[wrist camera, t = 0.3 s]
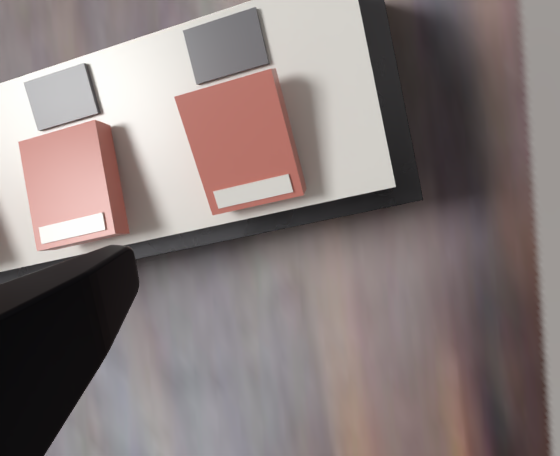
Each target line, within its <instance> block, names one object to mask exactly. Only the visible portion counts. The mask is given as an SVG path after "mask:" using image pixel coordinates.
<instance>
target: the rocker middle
mask: <svg viewBox="0 0 560 456" xmlns="http://www.w3.org/2000/svg"><path fill="white" fill-rule="evenodd" d="M18 143H19V149H20V155H21V161H22V167H23V173H24V179H25V185H26V191H27V196H28V202H29V208H30V214H31V220H32V226H33V232H34V238H35V244H36V249H37V251H47V250H57V249H62V248H66V247H71V246H75V245H80V244H84V243H89V242H93V241H98V240H102V239H107V238H111V237H116V236H120V235H125V234H129V233H130V232H129V226H128V221H127V215H126V210H125V204H124V198H123V193H122V187H121V182H120V176H119V171H118V165H117V160H116V154H115V148H114V143H113V137H112V132H111V126H110V125H108V124H105V123H103V122H100V121H97V120H92V121H88V122H85V123H82V124H78V125H75V126H71V127H68V128H64V129H61V130H57V131H54V132H51V133H47V134H44V135H40V136H37V137H33V138H30V139H27V140H23V141H20V142H18Z"/></svg>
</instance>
